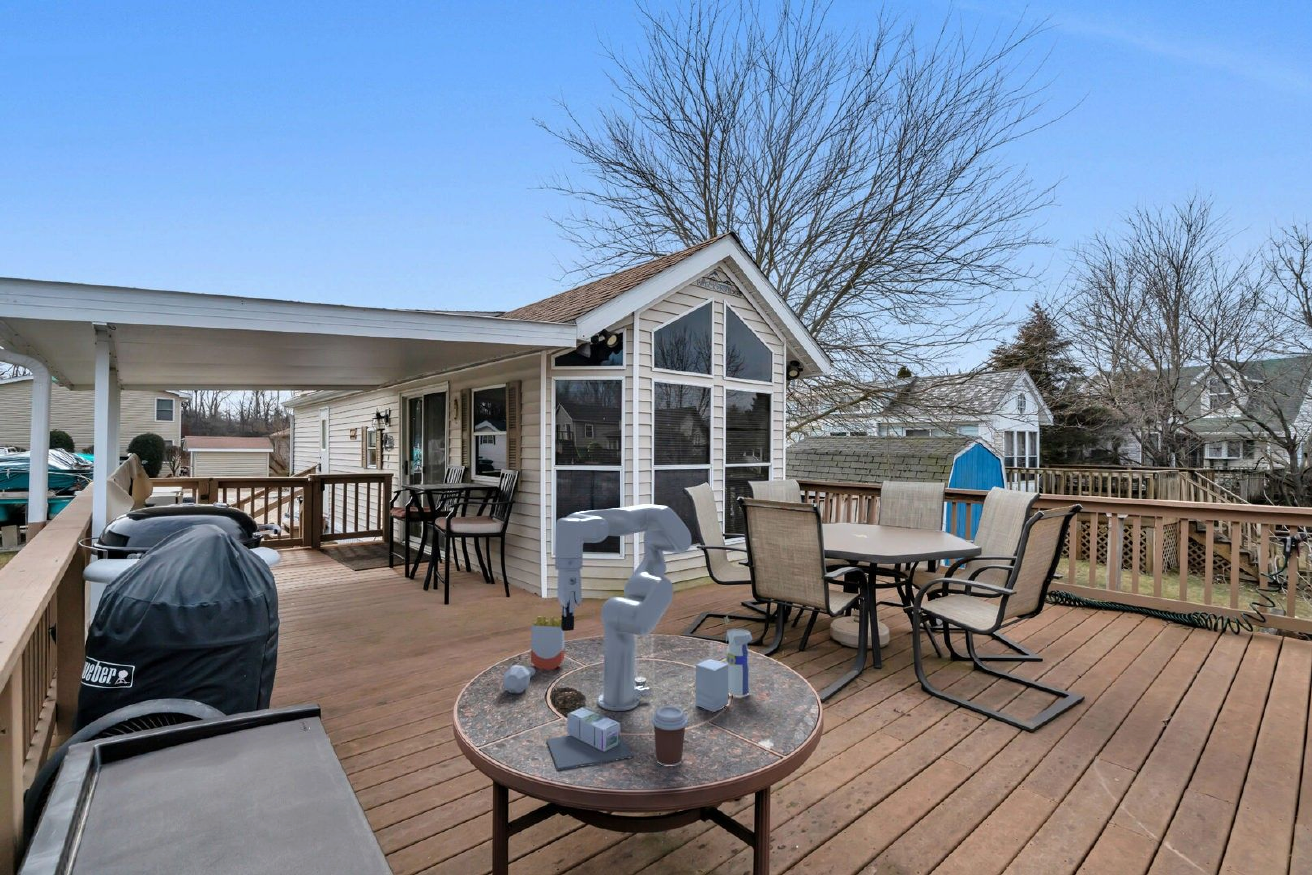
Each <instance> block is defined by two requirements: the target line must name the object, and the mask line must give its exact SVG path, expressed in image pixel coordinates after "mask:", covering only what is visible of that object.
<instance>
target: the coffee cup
mask: <svg viewBox="0 0 1312 875" xmlns="http://www.w3.org/2000/svg"><path fill="white" fill-rule="evenodd" d="M651 723H652V725H653V727H654V728H653V729H654V743H655V745H654V746H655V760H657V761H658V762H659V763H661V764H662V765H677V764H679V763H680V762H681V761H682V762H683V751H684V750H683V749H684V740H685V732H686V727H687V725H688V723H689V718H688V717H687V715H685V711H684V710H683V709H682V708H680V707H678V706H673V705H666V706H665V705H664V706H661V707H659V708H657V709H656V711H655V713H654V714H653V715H652V717H651ZM657 761H656V762H657ZM682 762H681V763H682Z"/></svg>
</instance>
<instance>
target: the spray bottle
mask: <svg viewBox="0 0 1312 875" xmlns="http://www.w3.org/2000/svg"><path fill="white" fill-rule="evenodd" d="M725 616H726V617H723V619H724V621H725V622H724V625H727V627H728V626H729V622H730V619H729V617H728V615H725ZM725 641H726V642H725V643H727V641H728V646H727V649H726V652H727V655H726V664H728V693H730V694H732V695H745V694H747V693H749V694H750V668H749V667H750V665H749V663H748V660H749V659H748V657H749V656H748V655H749V653H750V651H749V648H748V643H749V642H752V641H753V636H752V634H751V632H750V631H749V630H746V629H744V628H743V629H742V628H733V629H732V628H731V629H728V630H727V631H726V638H725Z"/></svg>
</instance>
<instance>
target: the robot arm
mask: <svg viewBox="0 0 1312 875" xmlns="http://www.w3.org/2000/svg"><path fill="white" fill-rule="evenodd" d="M643 532H644V533H643ZM638 533H643V549H644V550H643V558H642V561H641V562H640V563H639V565H638V566H637V568H636V569H635V570H634V571H633V573H632V574H631V576H630V577H629V578H628V579H627V582H626V583H625V585H624V588H623V593H624V596H625V597H622V596H614V597H610V598H608V599H607V600H606V601H605V602H604V604H603V605H602V608H601V624H602V627H603V628H602V629H603V638H604V642H603V644H604V645H603V681H602V682H603V684H602V686H603V687H602V689H603V690H602V691H603V692H602V693H601V694H600V695H599V696H598V699H597V704H598V706H600V707H601V708H602V709H605V710H606V711H607V710H609V711H612V712H613V711H614V712H622V711H623V712H624V711H629V710H633V709H636V707H638V705H640V697H641V696H646V695H650V693H651V690H650V688H649V687H643V685H639V686H636V684H635V682H636V675H635V674H636V640H635V637H634V635H636V636H642V637H643V636H648V635H649V634H651V632H652V631H653V630H654V629H655V628H656V626H657V625H658V623H659V622H660V620H661V618H663V616H664V614H665V613H666V611H667V610H668V608H669V606H670V605H671V603H672V600H673V598H674V597H673V596H674V585H673V583H672V581H671V580H670V579H669V578H668V577H665V576H664V575H665V574H666V572H667V564H666V559H665V554H664V552H668V553H675V554H684V553H686V552H687V551H688V550H689V549H690V547H691V545H692V535H691V532H690V530H689V528H688V526H686V524H685V523H684V522H683V520H682V519H681V517H679V515H678V514H677V513H676V511H674V509H672V508H671V507H669V506H668V505H667V506H666V505H658V504H652V503H651V504H646V503H643V504H642V503H641V504H636V505H630V506H625V507H618V508H617V507H616V508H615V507H613V508H607V509H594V510H592V509H591V510H586V511H584V510H583V511H579V512H578V511H577V512H573V513H571V514H568V515H567V516H566V517H561V518H558V519H557V520H556V522H555V551H554V556H555V557H554V569H555V570H557V571H558V572H557V600H558V602H559V603H560V604H561V629H562V630H563V631H564V632H569V631H574V630H575V613H576V612H575V606H576V605H577V607H581V606H582V604H583V603H582V601H583V600H582V599H583V597H582V575H581V570H582V569H583V563H584V562H583V560H584V559H583V557H584V554H583V552H584V550H583V549H584V543H587V544H588V543H592V544H594V543H595V544H597V543H601V542H602V541H604V540H605V539H606V538H608V536H612V537H624V536H629V535H633V534H638Z"/></svg>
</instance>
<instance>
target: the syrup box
mask: <svg viewBox="0 0 1312 875" xmlns="http://www.w3.org/2000/svg"><path fill="white" fill-rule="evenodd" d="M566 719H567V721H566V725H567V726H566V734H567V735H568V736H570V735H571V736H573V737H575V738H577V739H579V740H581V741H583V742H585V743H587V744H589V745H591V746H593V747H595V748H597V749H599V750H602V751H604V752H605V751H607V750H609V749H611V748H613V747H615V746H616V745H618V744H620V735H621V722H618V721H616V720H613V719H611V718H609V717H606V716H605V715H602V714H600V713H598V712H596V711H593V710H590V709H588V708H586V707H584V706H582V707H579V708H577V709H575V710H573V711H570V712H569V713H567V718H566Z"/></svg>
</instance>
